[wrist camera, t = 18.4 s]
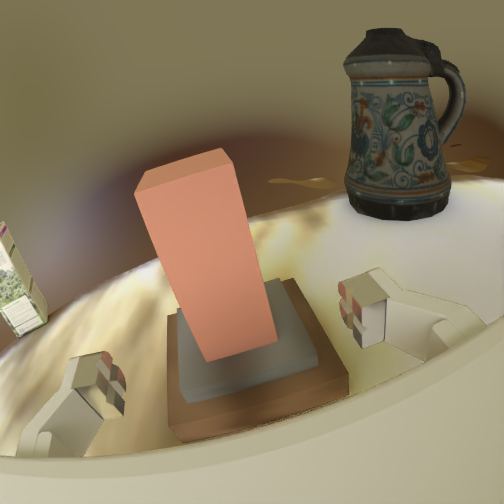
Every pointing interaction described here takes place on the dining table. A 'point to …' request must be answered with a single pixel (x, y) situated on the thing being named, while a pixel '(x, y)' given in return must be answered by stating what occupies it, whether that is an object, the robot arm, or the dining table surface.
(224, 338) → the carton
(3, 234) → the syrup box
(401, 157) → the beer stein
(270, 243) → the dining table surface
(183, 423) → the podium
